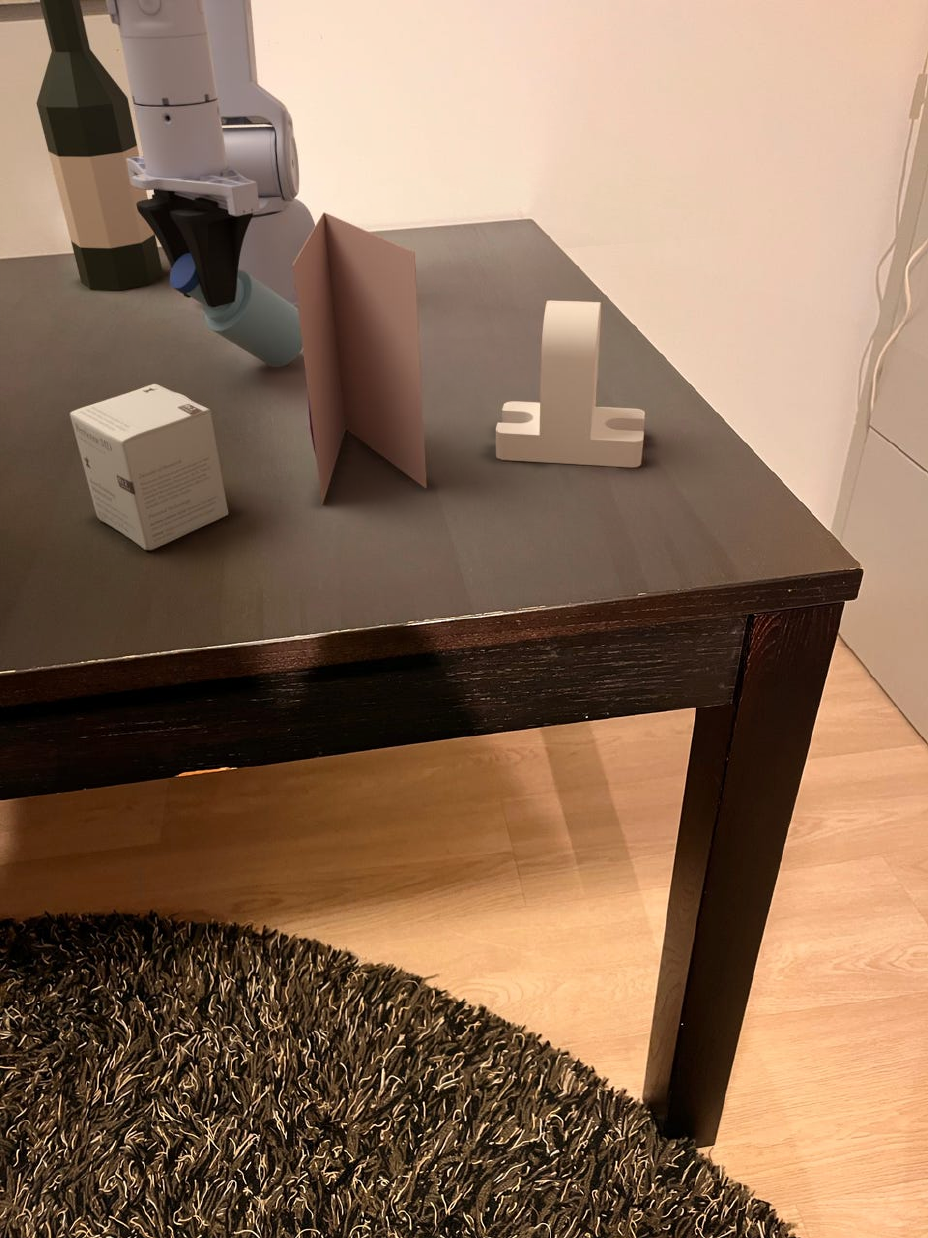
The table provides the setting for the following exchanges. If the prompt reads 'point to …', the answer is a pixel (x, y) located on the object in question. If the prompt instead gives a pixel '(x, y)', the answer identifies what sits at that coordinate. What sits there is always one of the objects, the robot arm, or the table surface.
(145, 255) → the wine bottle
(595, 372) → the white mounting bracket
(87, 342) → the table surface
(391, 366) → the greeting card
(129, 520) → the product carton
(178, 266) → the bottle
